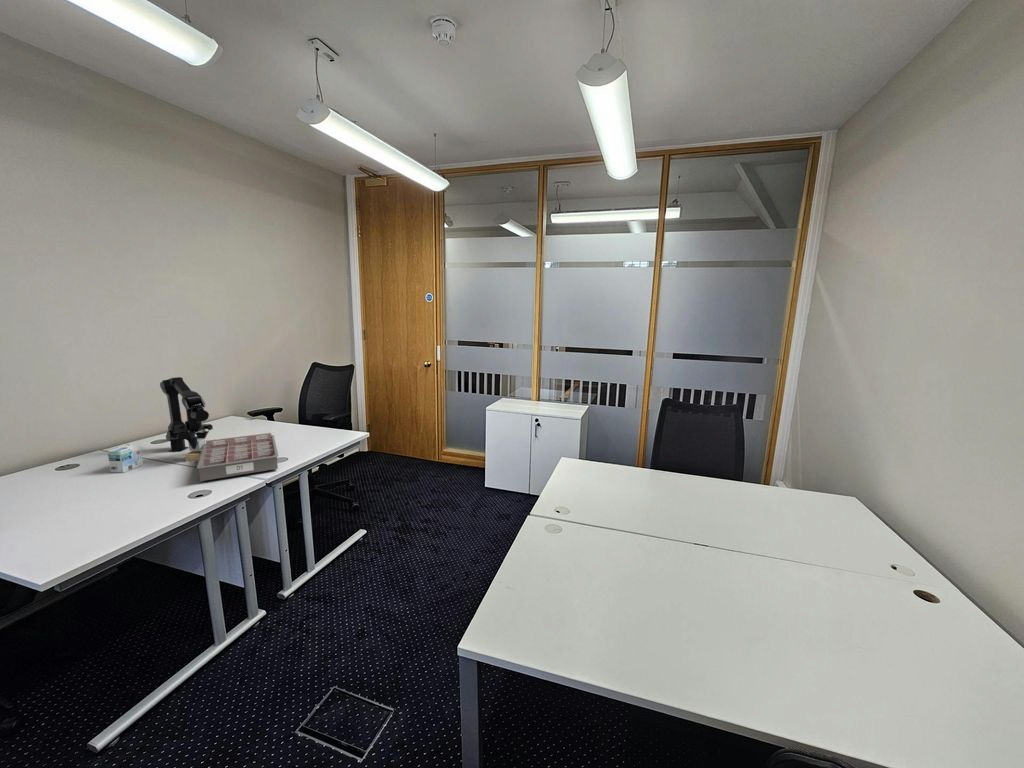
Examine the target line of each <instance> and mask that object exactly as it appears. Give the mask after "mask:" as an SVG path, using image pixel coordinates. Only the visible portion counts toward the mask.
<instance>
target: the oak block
mask: <svg viewBox="0 0 1024 768" xmlns="http://www.w3.org/2000/svg"><path fill="white" fill-rule="evenodd" d="M201 452H202V450H200V451H189V452H188V453H186V454H185V456H184V457H185V463H187V461H188V463H189V461H195V462H199V459H200V455H201Z"/></svg>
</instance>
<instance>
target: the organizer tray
mask: <svg viewBox="0 0 1024 768" xmlns="http://www.w3.org/2000/svg"><path fill="white" fill-rule="evenodd" d="M278 457H279V451H278V447H277V443H276V439H275V435H273V434H272V432H266V433H259V434H251V435H242V436H234V437H232V436H231V437H226V438H225V437H224V438H218V439H210V440H205V444H204V446H203V449H202V452H201V455H200V459H199V461H197V462H198V463H197V466H196V469H198V473H199V474H198V475H199V481H200V482H202V481H210V480H216V479H222V478H229V477H234V476H241V475H247V474H253V473H260V472H265V471H271V470H277V469H278V468H279V467H278V465H279V464H278Z"/></svg>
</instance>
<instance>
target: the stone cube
mask: <svg viewBox="0 0 1024 768" xmlns="http://www.w3.org/2000/svg"><path fill="white" fill-rule="evenodd" d="M187 443H188V450H189V452H191V451H200V450H202V449H203V446H204V444H206V438H205V439H197V444H196V448H195V449H192V447H191V445H190V443H189V442H188V441H187Z"/></svg>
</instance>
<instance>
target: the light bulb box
mask: <svg viewBox="0 0 1024 768" xmlns="http://www.w3.org/2000/svg"><path fill="white" fill-rule="evenodd" d="M142 456H143V455H142V448H141V444H131V443H130V444H126V445H122V446H119V447H116V448H114V449H110V450H107V458H108V462H109V463H108V464H109V469H110V470H109V471H110V473H123V474H124V473H126V472H129V471H131V470H135V469H137V468H139V467H142V466H144V464H143V463H144V462H143V457H142Z"/></svg>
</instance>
